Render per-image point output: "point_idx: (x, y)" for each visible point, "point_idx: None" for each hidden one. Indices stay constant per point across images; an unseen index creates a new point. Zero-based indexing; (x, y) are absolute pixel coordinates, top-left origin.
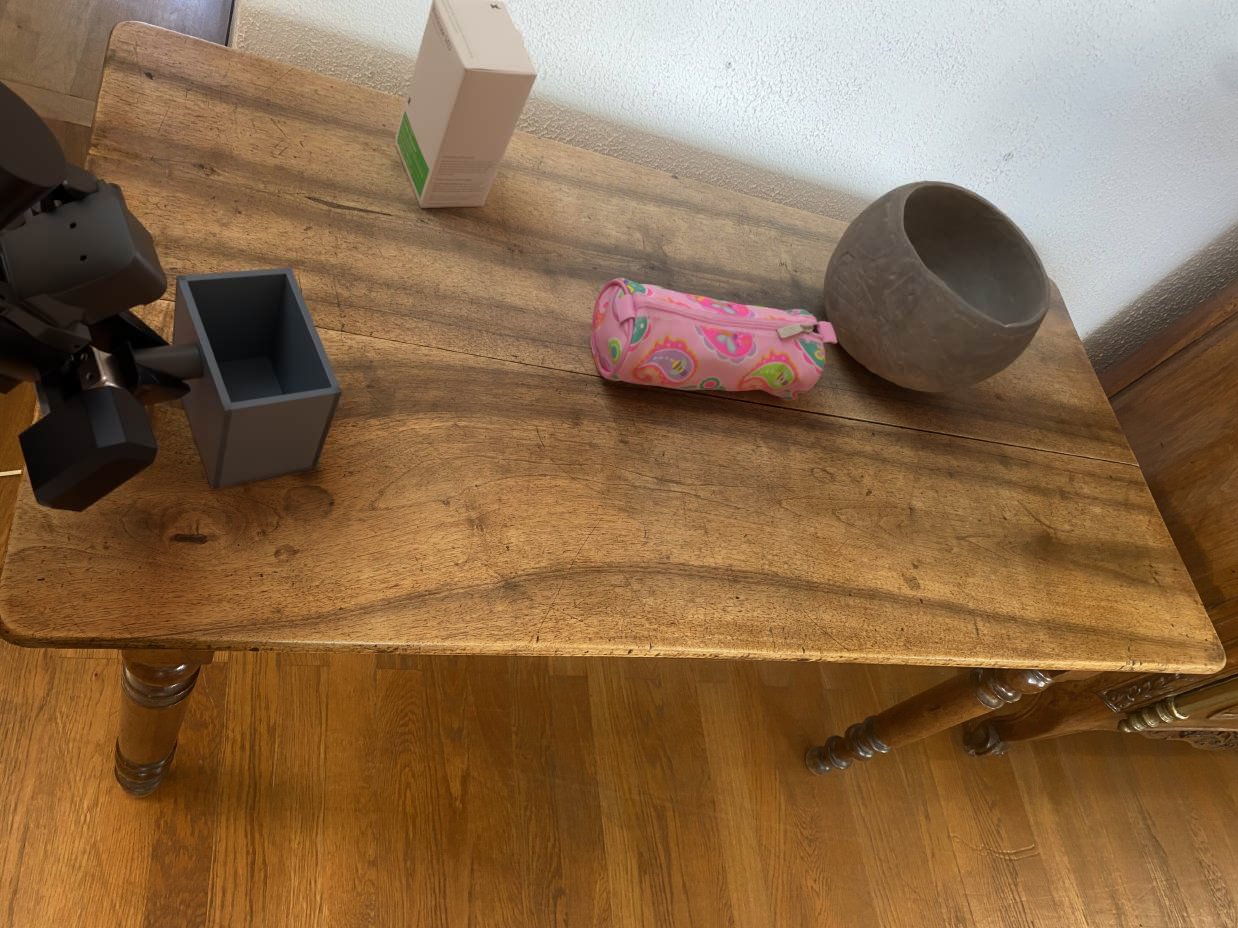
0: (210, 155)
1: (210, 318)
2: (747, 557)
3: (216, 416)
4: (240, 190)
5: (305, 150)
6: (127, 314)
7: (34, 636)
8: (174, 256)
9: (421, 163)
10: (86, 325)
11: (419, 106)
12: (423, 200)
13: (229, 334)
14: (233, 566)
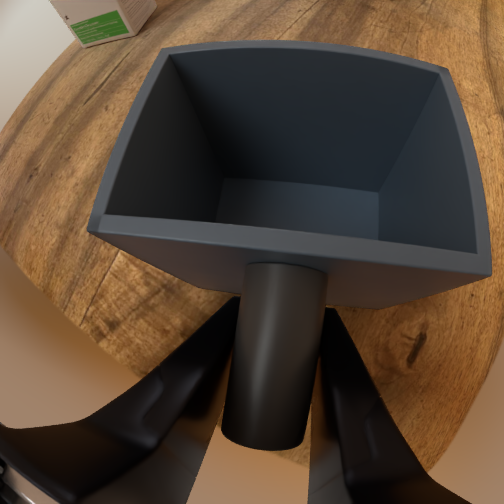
0: (27, 167)
1: (174, 212)
2: (472, 9)
3: (421, 287)
4: (55, 152)
5: (55, 101)
6: (152, 401)
7: None
8: (80, 226)
9: (108, 18)
10: (166, 490)
11: (73, 4)
12: (132, 29)
13: (197, 201)
14: (456, 318)
